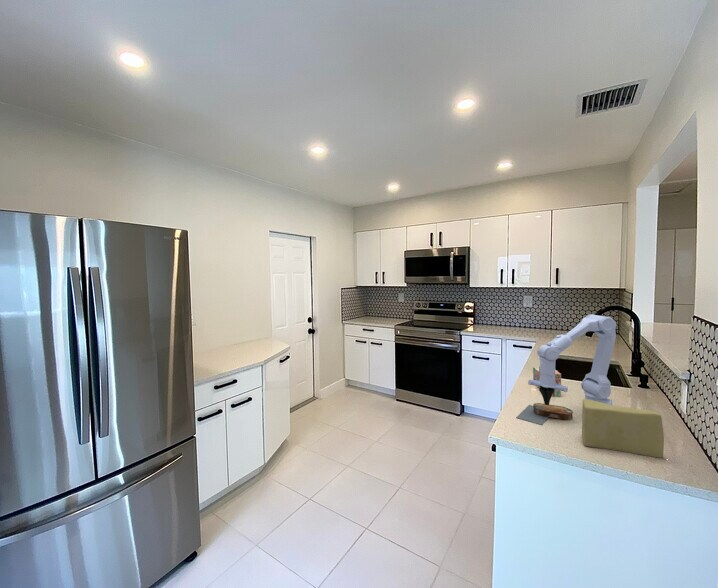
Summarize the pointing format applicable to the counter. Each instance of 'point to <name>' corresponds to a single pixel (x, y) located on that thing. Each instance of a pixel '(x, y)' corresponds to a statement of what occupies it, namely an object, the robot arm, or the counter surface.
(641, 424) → the cheese
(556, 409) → the tin
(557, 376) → the printed cardboard box
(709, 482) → the counter surface
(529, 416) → the mat
